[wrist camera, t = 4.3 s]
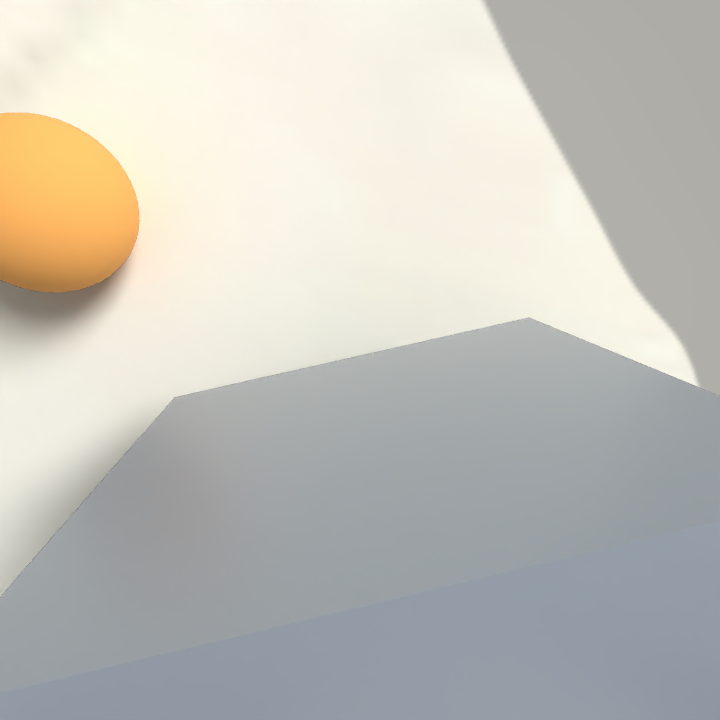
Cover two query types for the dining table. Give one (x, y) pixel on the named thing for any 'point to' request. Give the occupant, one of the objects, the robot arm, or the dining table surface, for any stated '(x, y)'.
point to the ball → (61, 206)
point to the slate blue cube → (392, 548)
